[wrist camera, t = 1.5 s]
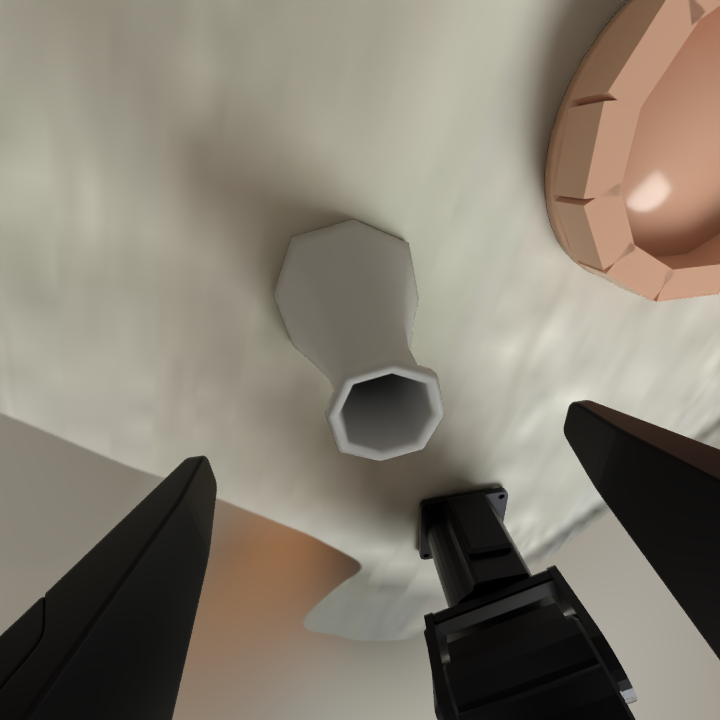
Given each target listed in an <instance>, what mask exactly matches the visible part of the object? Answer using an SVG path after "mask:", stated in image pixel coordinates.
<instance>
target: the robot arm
mask: <svg viewBox="0 0 720 720" xmlns="http://www.w3.org/2000/svg"><path fill="white" fill-rule="evenodd" d="M564 434H565V437H566V439H567V440H568V442H569V444H570V446H571V447H572V449H573V451H574V452H575V454H576V456H577V457H578V459H579V461H580V463H581V464H582V466H583V468H584V469H585V471H586V473H587V475H588V476H589V478H590V480H591V481H592V483H593V485H594V486H595V488H596V489H597V491H598V492H599V494H600V495H601V497H602V498H603V499H604V501H605V502H606V504H607V505H608V506H609V508H610V509H611V510H612V512H613V513H614V515H615V516H616V517H617V519H618V520H619V521H620V523H621V524H622V526H623V527H624V528H625V530H626V531H627V532H628V534H629V535H630V537H631V538H632V539H633V541H634V542H635V543H636V545H637V546H638V548H639V549H640V551H641V552H642V553H643V555H644V556H645V557H646V559H647V560H648V562H649V563H650V564H651V566H652V567H653V568H654V570H655V571H656V573H657V574H658V575H659V577H660V578H661V579H662V581H663V582H664V584H665V585H666V586H667V588H668V589H669V590H670V592H671V593H672V595H673V596H674V597H675V599H676V600H677V602H678V603H679V604H680V606H681V607H682V608H683V610H684V611H685V613H686V614H687V615H688V617H689V618H690V619H691V621H692V622H693V624H694V625H695V626H696V628H697V629H698V631H699V632H700V633H701V635H702V636H703V637H704V639H705V640H706V642H707V643H708V644H709V646H710V647H711V649H712V650H713V651H714V653H715V654H716V655H717V657H718V658H719V660H720V450H719V449H717V448H714V447H711V446H709V445H706V444H703V443H701V442H698V441H696V440H693V439H690V438H688V437H685V436H682V435H680V434H677V433H674V432H672V431H669V430H667V429H664V428H661V427H659V426H656V425H653V424H651V423H648V422H645V421H643V420H640V419H637V418H635V417H632V416H630V415H627V414H624V413H622V412H619V411H616V410H614V409H611V408H608V407H606V406H603V405H601V404H598V403H595V402H593V401H590V400H583V401H576V402H573V403H571V404H570V406H569V408H568V412H567V416H566V420H565V424H564ZM216 492H217V484H216V479H215V477H214V474H213V471H212V468H211V466H210V463H209V460H208V459H207V457H206V456H196V457H190V458H187V459H185V460H184V461H183V462H182V463H181V464H180V465H179V466H178V467H177V468H176V469H175V470H174V471H173V472H172V473H171V474H170V475H169V476H168V477H166V478H165V479H164V480H163V481H162V482H161V483H160V484H159V485H158V486H157V487H156V488H155V489H154V490H153V491H152V492H151V493H150V494H149V495H148V496H147V497H146V498H145V499H144V500H143V501H141V502H140V503H139V504H138V505H137V506H136V507H135V508H134V509H133V510H132V511H131V512H130V513H129V514H128V515H127V516H126V517H125V518H124V519H123V520H122V521H121V522H119V524H118V525H116V526H115V527H114V528H113V529H112V530H111V531H110V532H109V533H108V534H107V535H106V536H105V537H104V538H103V539H102V540H101V541H100V542H99V543H98V544H96V545H95V547H94V548H93V549H91V550H90V551H89V552H88V553H87V554H86V555H85V556H84V557H83V558H82V559H81V560H80V561H79V562H78V563H77V564H76V565H75V566H74V567H72V569H70V570H69V571H68V572H67V573H66V574H65V575H64V576H63V577H62V578H61V579H60V580H59V581H58V582H57V583H56V584H55V585H54V586H53V587H52V588H51V589H49V591H47V592H46V594H45V597H42V598H40V599H39V600H38V601H37V602H36V603H35V604H34V605H33V606H32V607H31V608H30V609H28V610H27V611H26V612H25V613H24V614H23V615H22V616H21V617H20V618H19V619H18V620H17V621H16V622H15V623H14V624H13V625H11V626H10V627H9V628H8V630H6V631H5V632H4V633H3V634H2V635H1V636H0V720H172V717H173V713H174V708H175V704H176V700H177V695H178V691H179V686H180V682H181V678H182V673H183V668H184V664H185V660H186V655H187V651H188V647H189V642H190V638H191V634H192V629H193V625H194V620H195V616H196V612H197V607H198V603H199V598H200V594H201V590H202V585H203V581H204V576H205V572H206V568H207V563H208V558H209V551H210V545H211V536H212V527H213V518H214V509H215V501H216ZM507 499H508V493H507V492H506V490H505V489H504V488H494V489H488V490H482V491H476V492H470V493H464V494H458V495H451V496H445V497H439V498H433V499H427V500H423V501H422V502H421V503H420V505H419V554H420V557H421V559H424V560H425V559H432V558H433V560H434V563H435V566H436V570H437V573H438V576H439V579H440V582H441V585H442V588H443V591H444V594H445V597H446V601H447V604H448V607H449V608H447V609H444V610H442V611H439V612H437V613H434V614H433V613H429V614H427V615H424V619H425V624H426V629H425V631H424V635H425V639H426V643H427V647H428V653H429V658H430V664H431V670H432V680H433V694H434V707H435V713H436V717H437V719H438V720H635V718H634V716H633V714H632V712H631V711H630V709H629V707H628V705H627V704H630V703H633V702H636V701H637V697H636V695H635V692H634V690H633V687H632V685H631V683H630V681H629V679H628V677H627V675H626V673H625V671H624V670H623V668H622V666H621V664H620V662H619V660H618V659H617V657H616V655H615V654H614V652H613V650H612V648H611V647H610V645H609V643H608V642H607V640H606V639H605V637H604V635H603V634H602V632H601V631H600V629H599V628H598V626H597V625H596V623H595V622H594V621H593V619H592V618H591V616H590V615H589V613H588V612H587V610H586V609H585V608H584V606H583V605H582V604H581V602H580V600H579V599H578V598H577V596H576V595H575V593H574V592H573V590H572V589H571V588H570V586H569V585H568V583H567V582H566V580H565V579H564V577H563V576H562V574H561V573H560V572H559V570H558V569H557V567H556V566H555V565H554V566H551V567H548V568H547V570H546V571H543V572H541V573H538V574H535V575H533V576H532V575H531V573H530V571H529V569H528V567H527V566H526V564H525V562H524V560H523V558H522V556H521V555H520V553H519V551H518V549H517V547H516V545H515V544H514V542H513V540H512V538H511V536H510V535H509V533H508V531H507V529H506V527H505V525H504V524H503V520H504V515H505V510H506V504H507ZM563 613H564V614H563ZM564 615H565V616H564Z"/></svg>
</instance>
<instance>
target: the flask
mask: <svg viewBox="0 0 720 720" xmlns="http://www.w3.org/2000/svg"><path fill="white" fill-rule="evenodd" d="M273 295H274V298H275V300H276V303H277V305H278V308H279V310H280V313H281V315H282V318H283V321H284V323H285V326H286V328H287V331H288V333H289V336H290V339H291V341H292V344H293V346H294V347H295V348H296V349H297V350H298V351H300V352H301V353H302V354H303V355H304V356H306V357H307V358H308V359H309V360H311V361H312V362H313V363H314V364H315V365H316V366H317V367H318V368H319V369H320V370H321V371H322V372H323V374H324V375H325V376H326V377H327V378H328V379H329V380H330V381H331V383H332V386H333V388H334V392H333V394H332V397H331V399H330V401H329V403H328V406H327V409H326V412H325V413H326V418H327V420H328V423H329V426H330V428H331V431H332V434H333V436H334V439H335V441H336V444H337V447H338V449H339V452H342V453H346V454H351V455H355V456H360V457H364V458H369V459H373V460H378V461H383V460H386V459H390V458H393V457H397V456H400V455H404V454H407V453H411V452H414V451H418V450H421V449H423V448H424V447H425V445H426V443H427V442H428V440H429V439H430V437H431V435H432V434H433V432H434V430H435V429H436V427H437V426H438V424H439V422H440V421H441V419H442V417H443V416H444V411H443V405H442V399H441V393H440V388H439V382H438V377H437V375H436V373H435V372H434V371H433V370H431V369H429V368H426V367H423V366H419V365H417V363H416V361H415V359H414V357H413V355H412V353H411V351H410V346H411V338H412V330H413V323H414V319H415V314H416V310H417V306H418V293H417V287H416V282H415V276H414V270H413V265H412V259H411V253H410V248H409V243H407V242H405V241H403V240H400V239H398V238H396V237H393V236H391V235H389V234H386V233H384V232H382V231H379V230H377V229H375V228H372V227H370V226H368V225H365V224H363V223H361V222H358V221H356V220H353V219H352V220H349V221H345V222H342V223H338V224H335V225H331V226H328V227H324V228H321V229H318V230H314V231H311V232H307V233H304V234H300V235H297V236H293V237H292V238H291V241H290V244H289V247H288V250H287V253H286V256H285V260H284V263H283V266H282V269H281V272H280V275H279V278H278V282H277V285H276V288H275V291H274V294H273Z"/></svg>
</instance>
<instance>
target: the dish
mask: <svg viewBox="0 0 720 720" xmlns="http://www.w3.org/2000/svg"><path fill="white" fill-rule="evenodd" d="M545 197H546V204H547V212H548V215H549V219H550V223H551V226H552V229H553V231H554V233H555V236H556V238H557V240H558V242H559V244H560V245H561V247H562V248H563V249H564V251H565V252H566V254H567V255H568V256H569V257H570V258H571V259H572V260H573V261H574V262H575V263H576V264H578V265H579V266H580V267H582V268H583V269H585V270H586V271H588V272H590V273H593V274H595V275H597V276H599V277H602V278H604V279H606V280H608V281H609V282H611V283H613V284H614V285H616V286H618V287H620V288H622V289H624V290H627V291H629V292H632V293H634V294H637V295H639V296H642V297H644V298H646V299H649V300H651V301H653V300H654V301H657V302H658V301H666V300H674V299H682V298H690V297H698V296H706V295H714V294H718V293H719V291H720V0H628V1H627V2H626V4H625V5H624V6H623V7H622V8H621V9H620V10H619V11H618V12H617V13H616V14H615V15H614V16H613V17H612V19H611V20H610V21H609V23H608V24H607V25H606V26H605V28H604V29H603V30H602V31H601V33H600V34H599V35H598V36H597V38H596V39H595V41H594V42H593V44H592V46H591V47H590V49H589V50H588V52H587V53H586V55H585V56H584V58H583V59H582V61H581V63H580V65H579V67H578V69H577V70H576V72H575V74H574V76H573V78H572V80H571V82H570V84H569V86H568V88H567V91H566V93H565V95H564V98H563V100H562V103H561V105H560V107H559V110H558V113H557V117H556V120H555V123H554V126H553V129H552V133H551V138H550V143H549V147H548V152H547V160H546V170H545Z"/></svg>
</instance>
